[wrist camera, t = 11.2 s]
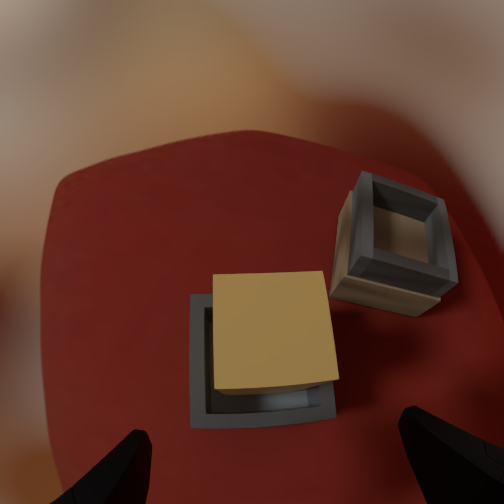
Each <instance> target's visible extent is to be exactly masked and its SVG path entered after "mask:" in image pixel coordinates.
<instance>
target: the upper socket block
mask: <svg viewBox="0 0 504 504" xmlns="http://www.w3.org/2000/svg"><path fill="white" fill-rule="evenodd" d="M456 284H458V274H457V266H456V259H455V252H454V246H453V240H452V235H451V229H450V224H449V220H448V215H447V211H446V206H445V203H444V200H443V199H440V198H438V197H436V196H433V195H431V194H428V193H426V192H423V191H420V190H418V189H415V188H412V187H410V186H407V185H404V184H401V183H398V182H396V181H393V180H390V179H387V178H384V177H381V176H378V175H374V174H371V173H368V172H365V171H362V172H361V174H360V177H359V179H358V181H357V183H356V186H355V188H354V190H353V191H351V190H350V192H349V194H348V197H347V199H346V201H345V203H344V206H343V208H342V210H341V212H340V214H339V217H338V228H337V237H336V247H335V255H334V263H333V271H332V278H331V286H330V292H329V298H333V299H338V300H342V301H346V302H350V303H355V304H359V305H364V306H368V307H372V308H377V309H381V310H386V311H390V312H395V313H400V314H404V315H409V316H414V317H418V316H419V315H421V314H422V313H424V312H425V311H427V310H428V309H430V308H431V307H433V306H434V305H435V304H437V303H438V302H440V301H441V298H440V297H441V296H442V295H443V294H445V293H446V292H447V291H449V290H450V289H451V288H452V287H454V286H455V285H456Z"/></svg>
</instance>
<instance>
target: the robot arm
mask: <svg viewBox="0 0 504 504" xmlns="http://www.w3.org/2000/svg"><path fill="white" fill-rule="evenodd" d="M398 429H399V432H400V435H401V438H402V441H403V445H404V448H405V451H406V454H407V457H408V460H409V462H410V465H411V467H412V469H413V471H414V474H415V476H416V478H417V481H418V483H419V485H420V488H421V490H422V493H423V495H424V497H425V500H426V502H427V504H504V448H501V447H498V446H496V445H493V444H491V443H489V442H487V441H485V440H484V441H483V440H482V439H480V438H478V437H476V436H474V435H472V434H470V433H468V432H466V431H464V430H461V429H459V428H457V427H455V426H453V425H451V424H449V423H448V422H446V421H444V420H442V419H440V418H438V417H436V416H434V415H432V414H430V413H428V412H426V411H424V410H423V409H421V408H419V407H417V406H410V407H407V408H405V409H404V411H403V413H402V415H401V417H400V419H399V422H398ZM151 457H152V444H151V442H150V439H149V437H148V434H147V432H146V431H144V430H137V429H135V430H133V431H132V432H130V433H129V434H128V435H127V436H126V437H125V438H124V439H123V440H122V441H121V442H120V443H119V444H118V445H117V446H116V447H115V448H114V449H113V450H111V451H110V452H109V453H108V454H107V455H106V456H105V457H104V458H103V459H102V460H101V461H100V462H99V463H97V464H96V465H95V466H94V467H93V468H92V469H91V470H90V471H89V472H88V473H86V474H85V475H84V476H83V477H82V478H81V479H80V480H79V481H77V482H76V483H75V484H74V485H73V486H72V487H70V488H69V489H68V490H67V491H66V492H65V493H63V494H62V495H61V496H60V497H58V498H57V499H56V500H55V501H53V502H51V503H50V504H145V503H146V498H147V494H148V489H149V481H150V468H151Z"/></svg>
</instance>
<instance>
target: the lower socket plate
mask: <svg viewBox="0 0 504 504" xmlns="http://www.w3.org/2000/svg"><path fill="white" fill-rule="evenodd" d="M189 373H190V418H191V428H253V427H268V426H280V425H289V424H298V423H306V422H313V421H319V420H325V419H331V418H337V417H336V406H335V396H334V386H333V381H331V382H328V383H324V384H321V385H317V386H314V387H310V388H307V389H303V390H299V391H295V392H291V393H280V394H267V395H250V396H225V395H224V394H222V393H220V392H219V391H217V390H215V389H214V352H213V294H191V299H190V345H189Z"/></svg>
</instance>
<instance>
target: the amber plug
mask: <svg viewBox="0 0 504 504" xmlns="http://www.w3.org/2000/svg"><path fill="white" fill-rule="evenodd" d="M213 352H214V389H215V390H217V391H219V392H220V393H222V394H224V395H225V396H250V395H267V394H280V393H291V392H295V391H299V390H303V389H307V388H310V387H314V386H317V385H321V384H324V383H328V382H331V381H334V380H337V379H339V375H338V366H337V358H336V351H335V344H334V337H333V330H332V323H331V317H330V310H329V304H328V298H327V292H326V287H325V281H324V276H323V271H311V272H285V273H255V274H218V275H213Z"/></svg>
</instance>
